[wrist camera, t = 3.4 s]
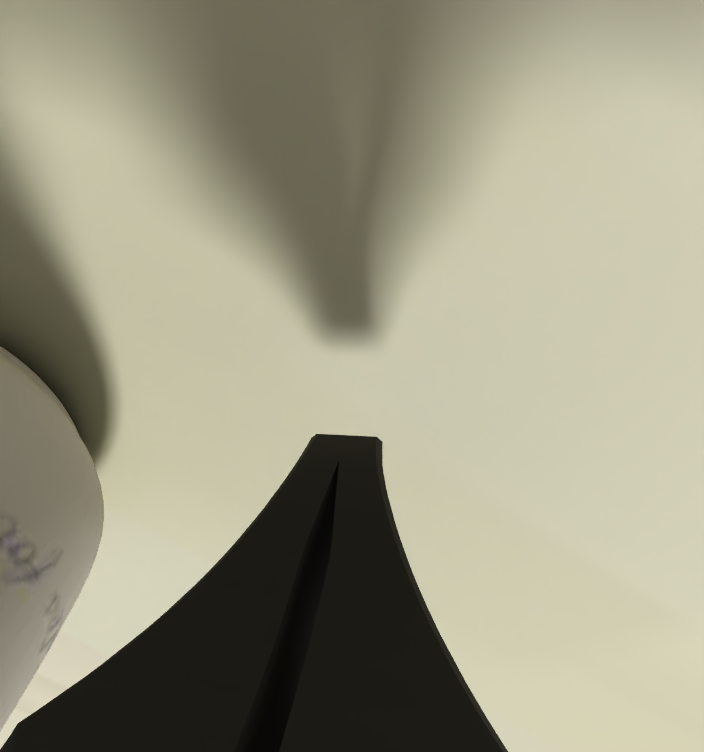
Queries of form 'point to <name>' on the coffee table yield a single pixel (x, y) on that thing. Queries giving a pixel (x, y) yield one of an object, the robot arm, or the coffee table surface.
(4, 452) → the teacup
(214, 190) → the coffee table surface
